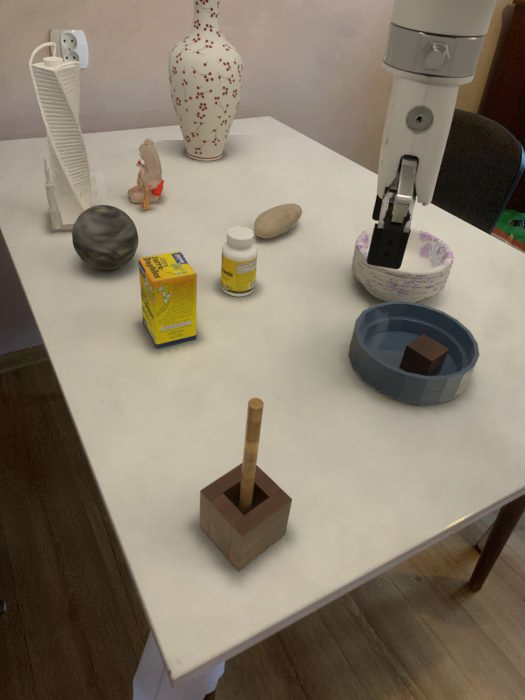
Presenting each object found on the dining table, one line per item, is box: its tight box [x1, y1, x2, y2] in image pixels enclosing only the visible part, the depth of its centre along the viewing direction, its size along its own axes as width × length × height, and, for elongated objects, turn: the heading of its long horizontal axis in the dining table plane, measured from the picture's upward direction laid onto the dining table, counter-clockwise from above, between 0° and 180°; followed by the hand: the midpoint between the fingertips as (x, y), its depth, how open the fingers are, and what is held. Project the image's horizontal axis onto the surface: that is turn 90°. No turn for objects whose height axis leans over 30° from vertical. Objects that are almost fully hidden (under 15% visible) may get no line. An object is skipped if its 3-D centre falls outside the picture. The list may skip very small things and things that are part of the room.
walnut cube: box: [399, 334, 449, 376], centre depth 72 cm, size 4×4×4 cm
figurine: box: [126, 138, 165, 211], centre depth 103 cm, size 9×7×12 cm
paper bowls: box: [351, 227, 455, 303], centre depth 86 cm, size 15×15×8 cm
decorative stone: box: [71, 204, 139, 271], centre depth 84 cm, size 10×10×10 cm
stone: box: [253, 203, 303, 239], centre depth 99 cm, size 6×6×12 cm
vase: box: [167, 0, 244, 162], centre depth 116 cm, size 16×16×35 cm
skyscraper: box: [28, 41, 93, 233], centre depth 89 cm, size 8×8×28 cm
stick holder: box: [199, 462, 293, 572], centre depth 51 cm, size 6×6×6 cm
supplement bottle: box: [220, 225, 258, 297], centre depth 82 cm, size 5×5×10 cm
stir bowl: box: [348, 301, 480, 405], centre depth 73 cm, size 16×16×5 cm
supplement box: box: [137, 250, 198, 350], centre depth 72 cm, size 6×6×11 cm
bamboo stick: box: [238, 397, 264, 515], centre depth 47 cm, size 1×1×18 cm
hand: (384, 241), depth 55 cm, fingers open, 9 cm apart
